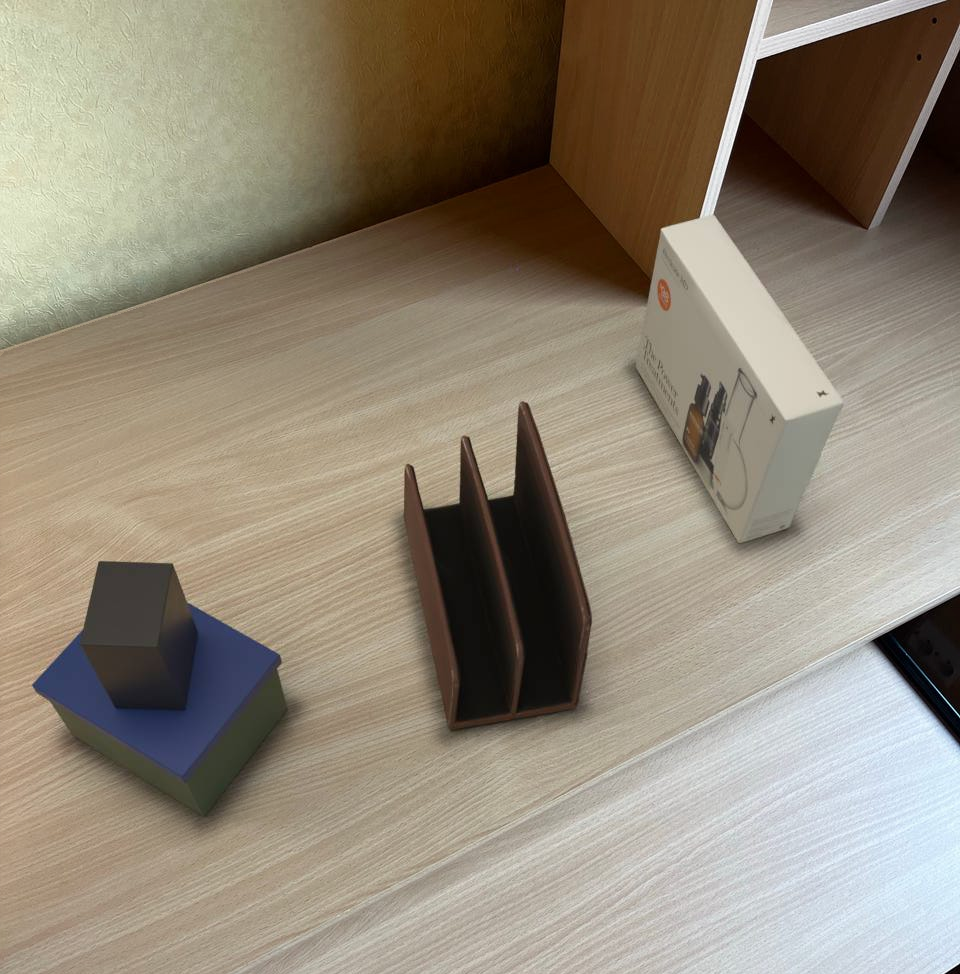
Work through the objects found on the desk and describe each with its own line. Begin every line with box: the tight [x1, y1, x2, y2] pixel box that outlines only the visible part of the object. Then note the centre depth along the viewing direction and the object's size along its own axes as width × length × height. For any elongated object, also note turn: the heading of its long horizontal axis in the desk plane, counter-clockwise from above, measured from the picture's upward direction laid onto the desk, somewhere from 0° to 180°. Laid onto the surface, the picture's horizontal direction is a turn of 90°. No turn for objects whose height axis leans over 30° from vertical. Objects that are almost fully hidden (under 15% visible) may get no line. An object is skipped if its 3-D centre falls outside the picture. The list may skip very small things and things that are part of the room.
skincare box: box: [635, 214, 845, 544], centre depth 89 cm, size 21×5×16 cm, turn 21°
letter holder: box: [403, 400, 593, 731], centre depth 80 cm, size 10×20×14 cm, turn 12°
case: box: [80, 560, 198, 710], centre depth 70 cm, size 5×6×8 cm
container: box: [31, 601, 288, 817], centre depth 77 cm, size 13×11×8 cm
